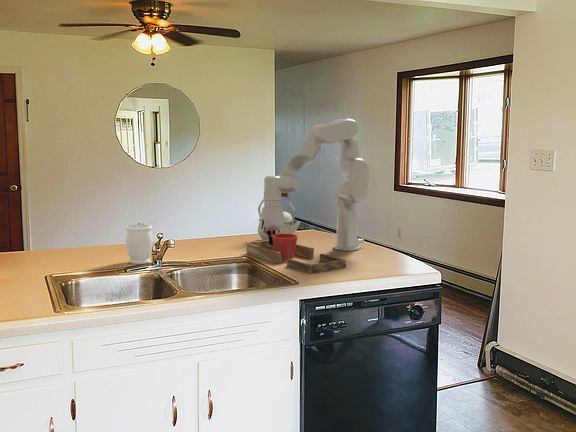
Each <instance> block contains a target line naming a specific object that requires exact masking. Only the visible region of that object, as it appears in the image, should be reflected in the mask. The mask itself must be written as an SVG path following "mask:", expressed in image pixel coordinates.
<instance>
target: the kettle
mask: <svg viewBox="0 0 576 432" xmlns="http://www.w3.org/2000/svg"><path fill="white" fill-rule="evenodd" d="M290 195H291V194H290V192H281V198H286V199H287V202H288V204H289V206H290V207H291V208H292V211H293V216H292V215H291V214H290V213H289V212H287V211H284V210H283V214H284V227H283V231H281V232H279V233H278V234H281V233H287V234H295V233H296V232H297V230H298V227H299V226H300V224H301V221H296V222H295V223H294V221H295V218H296V208H295V207H294V205H293V204H292V202H291V199H290ZM262 204H264V198H262V201H261V202H260V203H259V204H258V207H257V209H258V210H257V211H258V216H259V219H258V221H259V223H258V226H257V235H259V237H260V238H261V241H263V240H269V236H268V235H267V234H266V233H263V232H262V229H261V227H260V222H261V212H262V211H261V207H262Z"/></svg>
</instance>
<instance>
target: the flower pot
mask: <svg viewBox="0 0 576 432" xmlns="http://www.w3.org/2000/svg"><path fill="white" fill-rule="evenodd" d="M272 240H273V246H274V251H277V252H281V260H287V259H293V258H294V256H295V254H294V253H295V248H296V244H298V243H297V242H298V235H297V234H295V233H294V234H287V233H281V234H274V235H272Z"/></svg>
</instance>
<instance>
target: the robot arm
mask: <svg viewBox="0 0 576 432" xmlns="http://www.w3.org/2000/svg"><path fill="white" fill-rule="evenodd" d="M358 132H359V125H358V123H357V121H356V120H354V119H351V118H338V119H335V120H333V121H332V122H331V123H328V124H316V125H314V126H312V127H311V129H310V130H309V131H308V133H307V135H306V137H305V138H304V140H303V141H302V143H301V144H300V146H299V148H298V150H297V151H296V152H295V153H294V154H293V155H292V156H291V157H290V158H289V159H288V160H287V162H286V163H285V164H284V165H283V167H282V168H281V170H280V171H279V172H278V175H266V176H265V177H264V180H263V181H264V184H263V185H264V187H263V199H264V202H263V204H264V205H263V206H262V208H261V211H260V212H261V222H260V221H259V223H260V227H261V229H262V232H263V233H266V234H267V235H268V236H269V245H272V246H273V240H272V235H274V234H278V233H279V232H281V231H283V227H284V214H283V211H284V210H283V209H284V208H283V206H282V204H284V200H282V197H281V192H284V193H286V192H289V193H295V192H297V191H298V190H299V189H300V188H301V180H300V179H299V178H298V177H297V175H298V174H299V173H300V172H301V171H302V169H304V168H305V167H308V166H309V165H311V164H312V163H313V162H314V161H315V160H316V158H317V157H318V155H319V153H320V151H321V150H322V149H323V146H324V145H329V144H330V145H331V144H335V143H339V147H340V159H339V161H340V162H339V173H340V175H341V176H343V178H346V179H349V180H343V181H341V182H340V183H338V184H337V186H336V188H335V199H336V214H337V215H336V244H333V245H332V248H333V249H335V250H337V251H343V252H344V251H345V252H347V251H349V252H350V251H358V250H360V249H361V246H360V245H359V244H363V243H364V242H365V239H364V238H359V237H358V214H359V209H358V204H361V203H363V202H364V201H365V200H366V198H367V196H368V193H369V180H370V179H369V177H370V169H369V165H368V163H367V161H366V160H365V159H363V158H360V143H359V139H358V137H357V134H358Z"/></svg>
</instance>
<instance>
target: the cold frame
mask: <svg viewBox="0 0 576 432" xmlns="http://www.w3.org/2000/svg"><path fill="white" fill-rule="evenodd" d="M245 251H246V254H247V255H250V256H253V257H255V258H256V257H257V258H260V259H263V260H266V261H270V262H273V263H276V264H282V259H281V252H277V251H274V246H272V245H269V240H263V241H262V240H256V241H249V242H246V250H245ZM314 251H315V248H314V247H311V246H307V245H303V244H301V243H299V244H298V243H296V248H295V253H294V255H297V256H300V257H304V258H309V259H315V258H314V256H315V252H314Z"/></svg>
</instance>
